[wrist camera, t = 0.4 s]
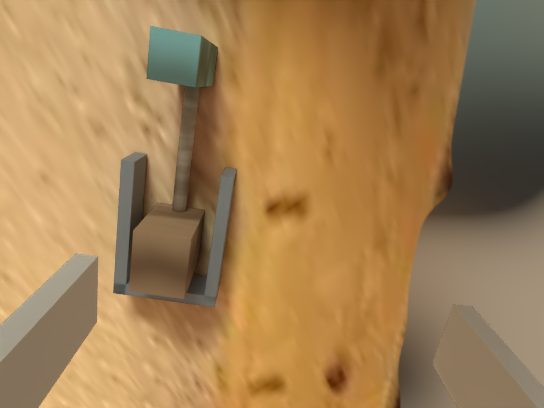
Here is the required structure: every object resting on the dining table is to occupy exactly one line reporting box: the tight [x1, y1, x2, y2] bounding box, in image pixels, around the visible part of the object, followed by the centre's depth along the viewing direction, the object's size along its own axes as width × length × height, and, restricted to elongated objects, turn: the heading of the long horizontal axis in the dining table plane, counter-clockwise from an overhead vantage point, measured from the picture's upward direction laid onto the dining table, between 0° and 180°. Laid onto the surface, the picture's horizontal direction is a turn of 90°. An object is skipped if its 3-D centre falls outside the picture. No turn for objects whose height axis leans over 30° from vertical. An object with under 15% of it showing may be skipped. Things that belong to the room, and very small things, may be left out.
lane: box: [113, 152, 237, 307], centre depth 40 cm, size 14×10×4 cm
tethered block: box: [129, 26, 218, 299], centre depth 35 cm, size 22×5×10 cm, turn 170°
